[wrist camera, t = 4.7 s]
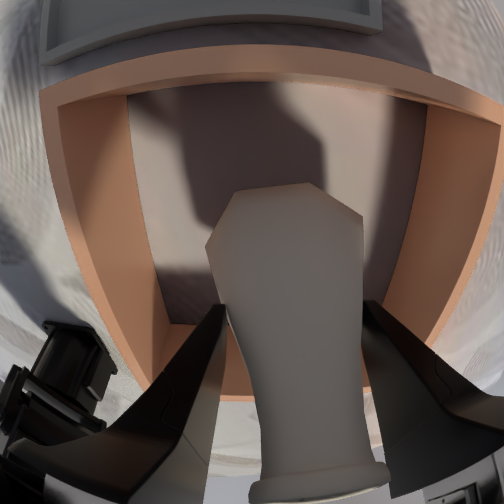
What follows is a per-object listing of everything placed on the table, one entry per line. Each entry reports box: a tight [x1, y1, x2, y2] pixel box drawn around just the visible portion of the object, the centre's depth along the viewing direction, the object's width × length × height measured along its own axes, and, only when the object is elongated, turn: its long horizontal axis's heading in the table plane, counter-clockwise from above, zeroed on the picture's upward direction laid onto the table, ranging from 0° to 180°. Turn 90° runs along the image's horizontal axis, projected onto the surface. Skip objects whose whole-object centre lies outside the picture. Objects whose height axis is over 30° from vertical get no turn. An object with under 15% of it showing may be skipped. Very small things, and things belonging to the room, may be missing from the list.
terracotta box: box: [39, 44, 504, 402], centre depth 12 cm, size 17×17×6 cm
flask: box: [205, 183, 391, 504], centre depth 8 cm, size 7×7×10 cm
